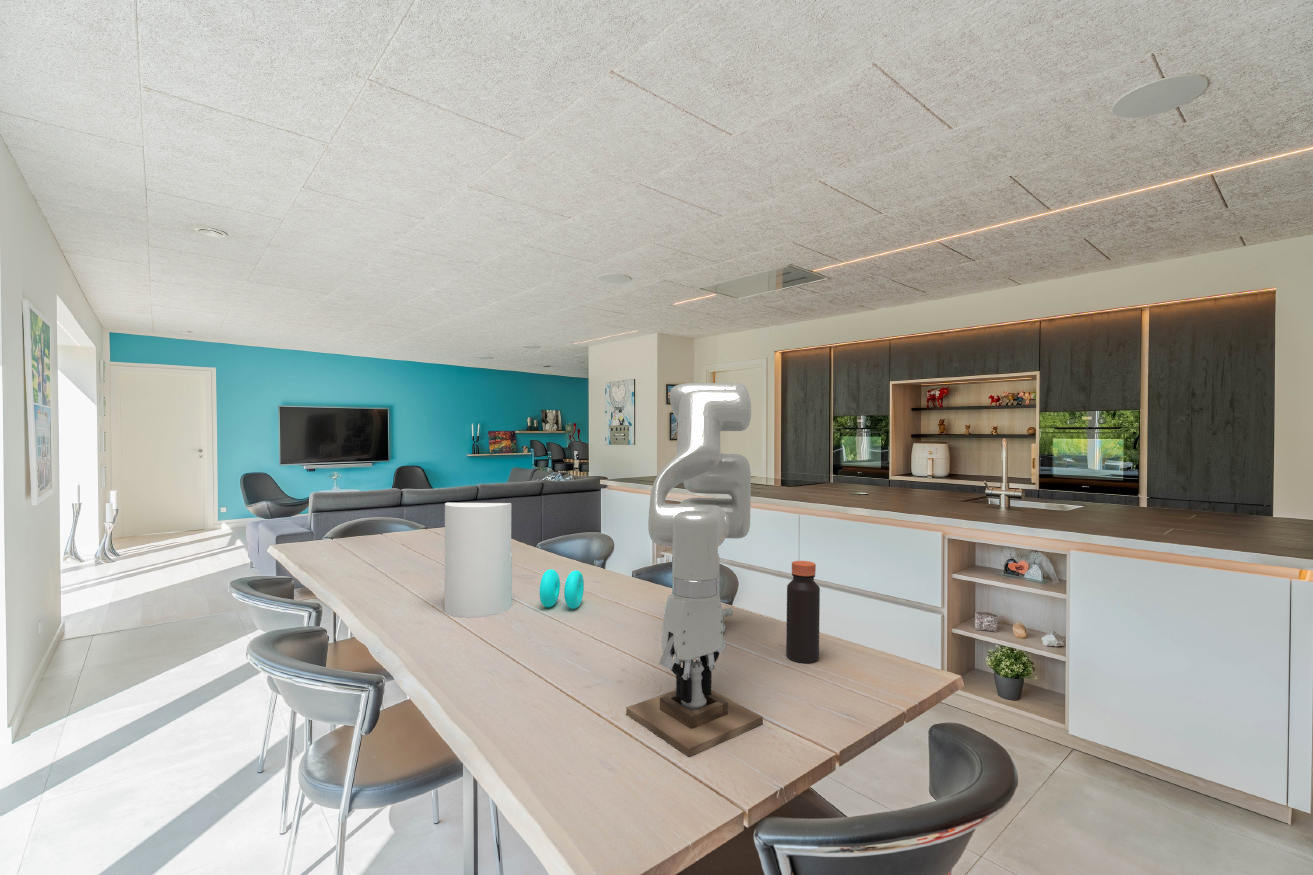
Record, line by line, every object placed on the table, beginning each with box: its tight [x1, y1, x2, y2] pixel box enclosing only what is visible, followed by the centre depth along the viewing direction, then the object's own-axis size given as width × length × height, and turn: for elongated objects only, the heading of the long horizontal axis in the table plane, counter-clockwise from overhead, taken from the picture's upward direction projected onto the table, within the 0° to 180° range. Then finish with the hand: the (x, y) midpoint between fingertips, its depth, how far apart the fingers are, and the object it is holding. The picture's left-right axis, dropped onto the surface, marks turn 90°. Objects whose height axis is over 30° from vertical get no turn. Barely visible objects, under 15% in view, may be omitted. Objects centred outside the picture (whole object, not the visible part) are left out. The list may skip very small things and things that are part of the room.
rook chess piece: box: [681, 658, 707, 711], centre depth 97 cm, size 4×4×8 cm
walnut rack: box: [625, 689, 764, 758], centre depth 97 cm, size 16×16×3 cm
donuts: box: [539, 568, 585, 610], centre depth 157 cm, size 10×10×10 cm
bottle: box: [785, 560, 821, 664], centre depth 123 cm, size 7×7×20 cm
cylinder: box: [444, 502, 513, 619], centre depth 156 cm, size 17×17×28 cm
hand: (693, 695), depth 97 cm, fingers open, 3 cm apart
